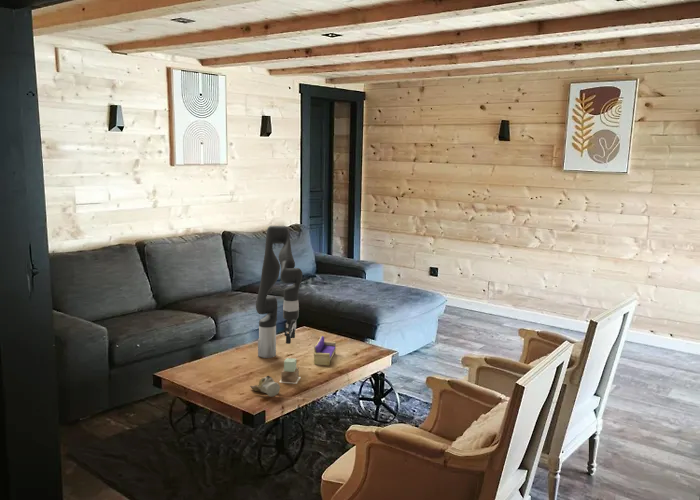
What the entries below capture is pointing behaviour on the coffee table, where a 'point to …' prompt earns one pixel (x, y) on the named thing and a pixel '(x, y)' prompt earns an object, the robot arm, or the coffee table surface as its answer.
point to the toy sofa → (324, 351)
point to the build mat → (291, 382)
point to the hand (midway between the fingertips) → (290, 340)
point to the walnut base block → (290, 376)
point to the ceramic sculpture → (267, 386)
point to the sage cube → (290, 365)
